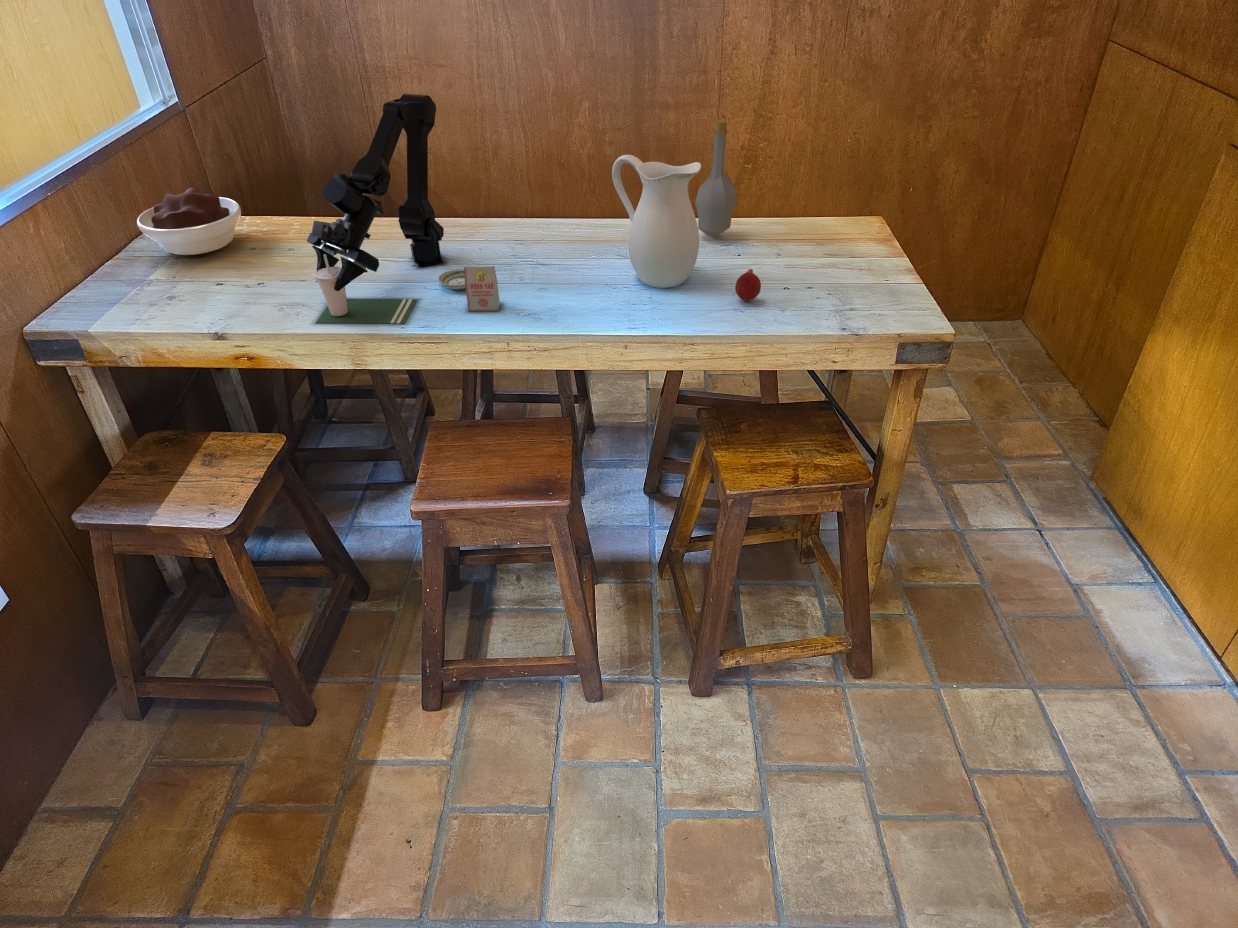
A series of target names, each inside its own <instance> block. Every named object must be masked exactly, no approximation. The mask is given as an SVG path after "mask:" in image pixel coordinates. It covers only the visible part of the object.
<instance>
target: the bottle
mask: <svg viewBox="0 0 1238 928" xmlns="http://www.w3.org/2000/svg"><path fill="white" fill-rule="evenodd" d="M727 126H728V120H727V119H716V120H715V129H714V135H713V137H714V139H713V156H712V166H711V171H710V174H709V176H708V177H707V178H706V179H705V181H704V182H702V184H701V185H700V186H698V191H697V194H696V198H695V202H694V204H695V208H696V212H697V216H698V217H697V221H698V223H697V226H698V230H700V231H701V232H702V233H703V234H705V235H706V236H708V237H711V238H718V237H719V236H720V235H722V233H724V232H726V231H727V230H729V229H730V228H731V225H732V217H733V213H734V211H735V208H736V206H737V203H738V196H737V188H736V184H735V183H734V182H733V180H732V179H731V178H730V177H729V176H728V175H727V173H726V171H725V170H726V169H725V168H726V165H725V160H726V159H725V158H726V142H727V134H728V128H727Z"/></svg>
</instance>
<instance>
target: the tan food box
mask: <svg viewBox="0 0 1238 928" xmlns="http://www.w3.org/2000/svg"><path fill="white" fill-rule="evenodd" d="M463 269H464V273H465V288H466V289H465V295H466V302H467V309H468V310H467V311H468V312H471V313H472V312H499V309H500V304H501V301H500V293H499V284H498V278H497V273H496V268H495V265H494V266H492V265H491V266H464V267H463Z"/></svg>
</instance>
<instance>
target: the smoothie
mask: <svg viewBox="0 0 1238 928" xmlns="http://www.w3.org/2000/svg"><path fill="white" fill-rule="evenodd" d="M324 259H325V263H326V267H327V268H323V269H320V270H318V271H317V270H316V271H315V273H314V280H315V282H316V281H318V286H319V289H320V290H321V293H322V295H323V298H324V300H325V302H326V305H327V306H328V308H329V310H330V312H331V315H333V316H342V315H345V314H346V313H347V312H348V309H347V300H346V299H347V292H346V286H345V287H343V288H342V289H341V290H340V291H336V290H334V287H335V283H336V281H337V278H338V275H339V273H340V270H341V268H342V267H338V266H334V267H329V264H328V260H327V256H326V254H324Z"/></svg>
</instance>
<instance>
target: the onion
mask: <svg viewBox="0 0 1238 928" xmlns="http://www.w3.org/2000/svg"><path fill="white" fill-rule="evenodd" d="M761 288H762V282H761V279H760V278H759V277H758V276H757V275H756V274H755V273H754V270H753V268H748V269H747V271H746V272H744V273H743V274H741V275H740V276H739V277H738V278H737V280H736V282H735V286H734V289H735V293H736V295H737V297H738V298H739V299H740V300H742V301H744V302H746V303H749V302H750V301H753V300H754V299H755V298H757V297H758V296H759V294H760V293H761V290H762V289H761Z"/></svg>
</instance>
